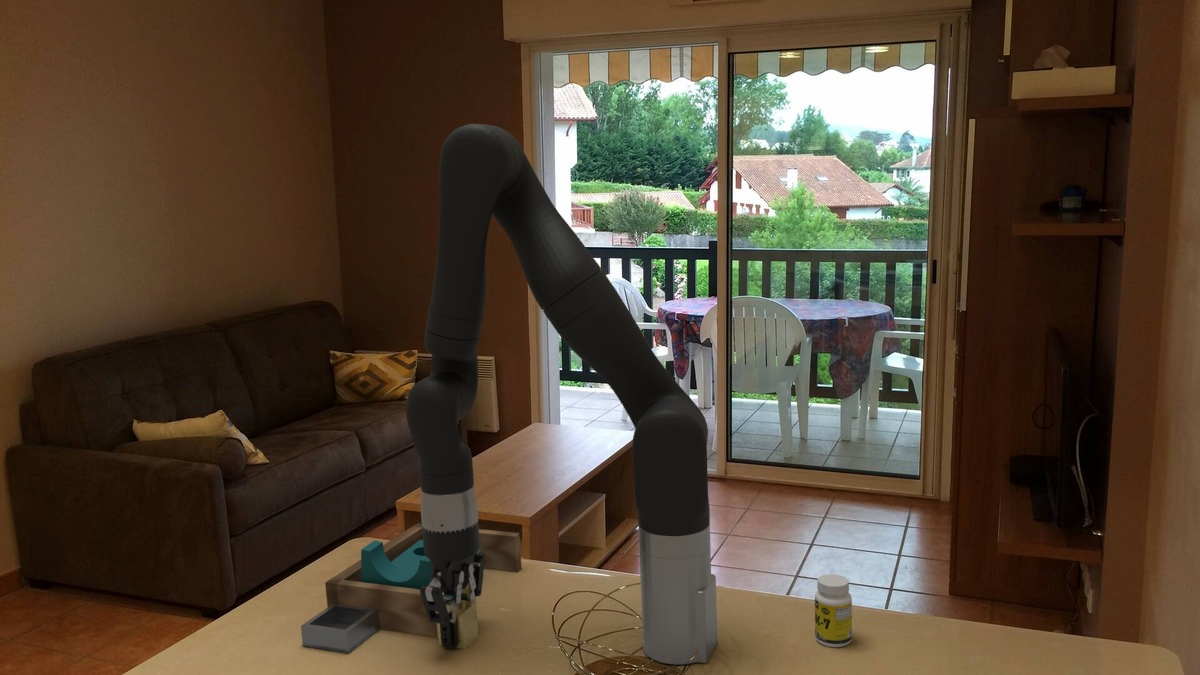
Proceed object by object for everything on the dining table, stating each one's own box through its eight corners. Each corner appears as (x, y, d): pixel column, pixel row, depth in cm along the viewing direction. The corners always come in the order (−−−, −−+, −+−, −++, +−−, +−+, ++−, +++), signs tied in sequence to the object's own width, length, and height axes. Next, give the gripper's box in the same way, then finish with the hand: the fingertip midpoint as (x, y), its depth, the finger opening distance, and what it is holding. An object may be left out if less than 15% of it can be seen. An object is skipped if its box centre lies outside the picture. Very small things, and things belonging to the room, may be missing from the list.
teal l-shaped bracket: (428, 630, 137) (429, 561, 135) (361, 617, 140) (361, 549, 138) (480, 579, 154) (482, 517, 152) (420, 568, 157) (420, 508, 155)
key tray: (380, 628, 137) (378, 609, 136) (348, 653, 130) (346, 632, 129) (336, 622, 139) (334, 603, 139) (302, 646, 132) (300, 625, 132)
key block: (478, 635, 133) (476, 601, 132) (464, 649, 129) (462, 614, 129) (453, 632, 135) (450, 598, 134) (438, 645, 131) (435, 610, 130)
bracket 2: (521, 568, 156) (519, 533, 155) (443, 638, 133) (440, 597, 132) (420, 557, 163) (417, 523, 162) (328, 621, 140) (325, 582, 139)
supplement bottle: (808, 635, 129) (807, 576, 128) (838, 628, 130) (837, 569, 129) (828, 651, 124) (828, 589, 123) (859, 643, 126) (859, 583, 125)
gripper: (447, 540, 121) (457, 667, 124) (498, 504, 134) (506, 619, 137) (396, 535, 124) (406, 659, 127) (451, 500, 137) (459, 613, 140)
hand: (458, 638), depth 132 cm, fingers closed on key block, 4 cm apart
